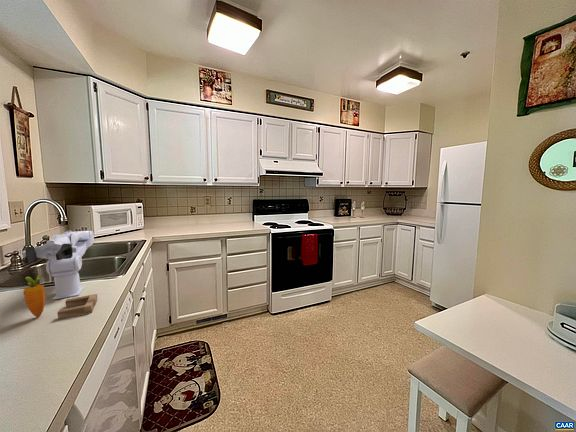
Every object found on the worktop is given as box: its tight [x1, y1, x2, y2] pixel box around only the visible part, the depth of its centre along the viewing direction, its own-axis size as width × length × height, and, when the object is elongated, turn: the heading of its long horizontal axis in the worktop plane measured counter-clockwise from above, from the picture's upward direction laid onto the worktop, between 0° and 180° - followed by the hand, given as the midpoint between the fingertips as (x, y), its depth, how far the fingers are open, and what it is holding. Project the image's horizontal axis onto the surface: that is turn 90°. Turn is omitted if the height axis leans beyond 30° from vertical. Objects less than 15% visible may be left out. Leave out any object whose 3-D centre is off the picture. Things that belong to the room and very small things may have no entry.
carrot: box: [23, 274, 46, 318], centre depth 84 cm, size 5×5×15 cm
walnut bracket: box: [57, 293, 99, 320], centre depth 90 cm, size 11×9×2 cm
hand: (42, 258), depth 82 cm, fingers open, 7 cm apart
